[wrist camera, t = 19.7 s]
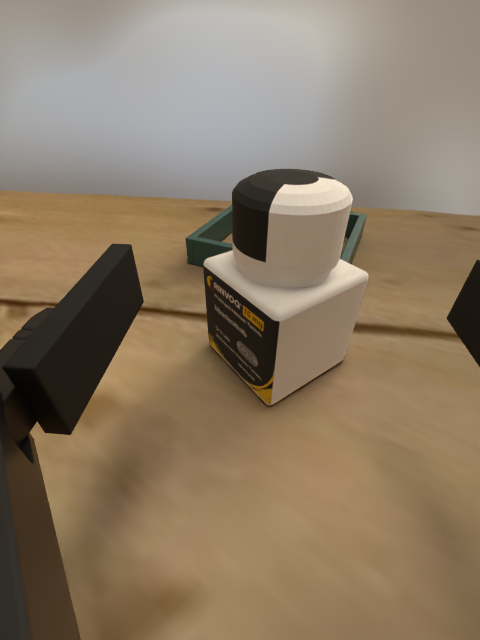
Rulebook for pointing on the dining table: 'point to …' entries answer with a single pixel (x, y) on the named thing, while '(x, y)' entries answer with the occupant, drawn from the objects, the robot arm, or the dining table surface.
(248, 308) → the medicine bottle
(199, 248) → the tray
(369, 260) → the dining table surface
